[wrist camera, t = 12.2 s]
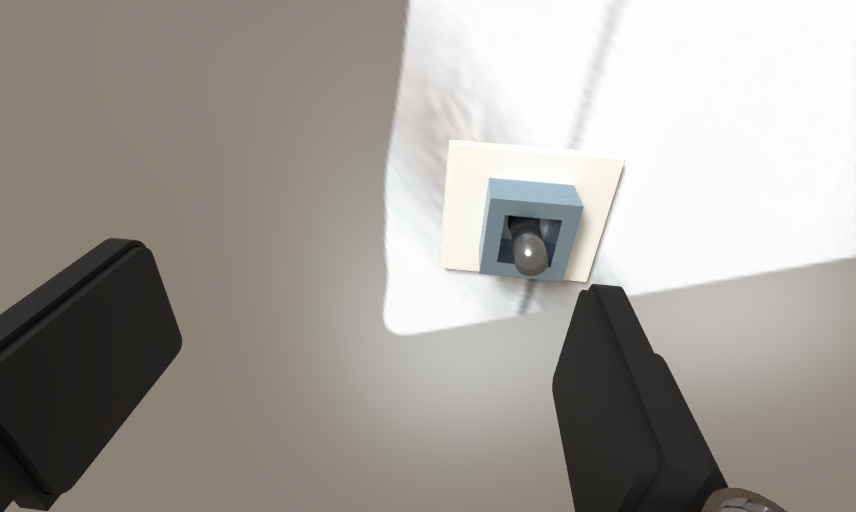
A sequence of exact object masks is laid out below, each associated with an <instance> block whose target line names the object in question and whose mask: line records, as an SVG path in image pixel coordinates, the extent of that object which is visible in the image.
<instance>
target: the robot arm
mask: <svg viewBox="0 0 856 512" xmlns="http://www.w3.org/2000/svg"><path fill="white" fill-rule="evenodd" d="M181 346H182V337H181V334H180V331H179V328H178V325H177V322H176V319H175V316H174V314H173V311H172V308H171V305H170V302H169V299H168V296H167V294H166V291H165V288H164V285H163V283H162V279H161V276H160V274H159V271H158V268H157V265H156V262H155V259H154V256H153V254H152V252H151V251H150V250H149V249H148V248H146V246H145V245H144V244H143V243H142V242H140V241H137V240H128V239H117V238H110V239H107V240H105V241H103V242H102V243H101V244H99V245H98V246H96V247H95V248H94V249H92V250H91V251H89V252H88V253H87V254H85V255H84V256H82V257H81V258H80V259H78V260H77V261H75V262H74V263H72V264H71V265H70V266H68V267H67V268H65V269H64V270H63V271H61V272H60V273H58V274H57V275H56V276H54V277H53V278H51V279H50V280H49V281H47V282H46V283H44V284H43V285H41V286H40V287H39V288H37V289H36V290H34V291H33V292H32V293H30V294H29V295H27V296H26V297H24V298H23V299H22V300H21V301H19V302H17V303H16V304H15V305H13V306H12V307H10V308H9V309H8V310H6V311H5V312H3V313H2V314H1V315H0V512H4V510H5V509H6V508H7V507H8V506H9V505H10V503H11V502H12V501H13V500H14V501H15V502H16V504H17V505H18V506H19V507H21V508H29V509H36V510H44V511H48V510H49V509H50V507H51V506H52V505H53V504H54V502H55V501H56V500H57V499H58V497H59V496H60V495H61V494H62V493H65V492H67V491H68V490H70V489H71V488H72V487H73V486H74V485H75V484H76V482H77V481H78V480H79V478H80V477H81V476H82V475H83V473H84V472H85V471H86V470H87V468H88V467H89V466H90V465H91V463H92V462H93V461H94V460H95V458H96V457H97V456H98V455H99V453H100V452H101V451H102V449H103V448H104V447H105V446H106V444H107V443H108V442H109V441H110V439H111V438H112V437H113V435H114V434H115V433H116V432H117V430H118V429H119V428H120V427H121V425H122V424H123V423H124V422H125V420H126V419H127V417H129V415H130V414H131V413H132V411H133V410H134V409H135V408H136V406H137V405H138V404H139V403H140V401H141V400H142V399H143V397H144V396H145V395H146V394H147V392H148V391H149V390H150V389H151V387H152V386H153V385H154V383H155V382H156V381H157V380H158V379H159V377H160V376H161V375H162V373H163V372H164V371H165V370H166V368H167V367H168V366H169V365H170V363H171V362H172V361H173V359H174V358H175V357H176V355H177V354H178V353H179V351H180V349H181ZM552 390H553V397H554V402H555V408H556V413H557V418H558V423H559V428H560V434H561V439H562V444H563V450H564V454H565V460H566V465H567V471H568V476H569V481H570V487H571V492H572V497H573V502H574V507H575V512H787V511H786V510H784V509H783V508H782V507H780V506H779V505H778V504H776V503H775V502H773V501H771V500H769V499H767V498H765V497H764V496H762V495H760V494H758V493H755V492H752V491H748V490H745V489H741V488H729V487H728V485H727V483H726V481H725V479H724V477H723V475H722V473H721V471H720V469H719V467H718V465H717V463H716V461H715V460H714V457H713V455H712V453H711V451H710V449H709V447H708V445H707V443H706V441H705V439H704V437H703V436H702V433H701V431H700V430H699V427H698V425H697V423H696V421H695V419H694V418H693V415H692V413H691V411H690V409H689V408H688V405H687V403H686V401H685V399H684V398H683V396H682V393H681V391H680V389H679V387H678V385H677V384H676V381H675V379H674V377H673V375H672V373H671V371H670V369H669V367H668V366H667V363H666V362H665V360H664V359H663V358H662V357H661V356H660V355H658V354H655V353H654V352H653V350H652V347H651V345H650V343H649V341H648V339H647V337H646V335H645V333H644V331H643V329H642V327H641V325H640V323H639V320H638V319H637V316H636V314H635V312H634V310H633V308H632V306H631V304H630V302H629V300H628V298H627V295H626V293H625V291H624V290H623V288H622V287H620V286H609V285H599V284H592V285H591V286H590V288H589V290H581V292H580V293H579V296H578V299H577V302H576V306H575V309H574V312H573V315H572V319H571V322H570V325H569V328H568V332H567V335H566V338H565V342H564V345H563V348H562V351H561V354H560V357H559V361H558V364H557V367H556V370H555V373H554V377H553V385H552Z"/></svg>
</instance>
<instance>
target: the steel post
mask: <svg viewBox="0 0 856 512" xmlns="http://www.w3.org/2000/svg"><path fill="white" fill-rule="evenodd" d="M539 225H540V219H539V218H532V217H522V216H511V215H509V216H508V227H509V230H510V231H511V237H512V244H513V251H514V258H515V265H516V269H517V270H518V272H520V273H521V274H523V275H525V276H537V275H540V274H541V273H543V272H544V271H545V270H546V269H547V267H548V263H549V261H548V257H547V253H546V249H545V245H544V241H543V237H542V234H541V230H540V226H539Z"/></svg>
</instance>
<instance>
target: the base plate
mask: <svg viewBox="0 0 856 512" xmlns="http://www.w3.org/2000/svg"><path fill="white" fill-rule="evenodd" d="M624 162H625V160H624V158H623V157H622V156H621V155H620V154H617V153H605V152H593V151H581V150H569V149H557V148H545V147H532V146H520V145H508V144H496V143H484V142H472V141H460V140H450V141H449V150H448V162H447V174H446V186H445V198H444V210H443V222H442V235H441V247H440V259H439V268H447V269H458V270H468V271H478V272H479V244H480V237H481V230H482V223H483V216H484V209H485V202H486V195H487V188H488V181H489V178H497V179H509V180H520V181H532V182H543V183H555V184H566V185H574V187H575V189H576V191H577V193H578V195H579V197H580V200H581V202H582V204H583V206H584V208H583V211H582V215H581V218H580V222H579V226H578V229H577V233H576V236H575V240H574V243H573V247H572V251H571V254H570V258H569V261H568V265H567V268H566V272H565V276H564V279H563V280H571V281H581V282H587V279H588V275H589V272H590V269H591V266H592V263H593V260H594V256H595V253H596V250H597V247H598V244H599V241H600V237H601V234H602V231H603V228H604V225H605V222H606V218H607V215H608V212H609V209H610V206H611V203H612V200H613V196H614V193H615V190H616V187H617V184H618V181H619V177H620V174H621V171H622V168H623V165H624ZM508 216H509V215H505V218H504V223H503V229H502V235H501V239H512V237H511V231H510V230H509V227H508ZM539 219H540V225H539V226H540V230H541V234H542V237H543V241H544V240H545V236H546V231H547V227H548V223H549V219H543V218H539Z"/></svg>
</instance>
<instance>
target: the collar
mask: <svg viewBox="0 0 856 512" xmlns="http://www.w3.org/2000/svg"><path fill="white" fill-rule="evenodd" d="M583 208H584V206H583V204H582V202H581V200H580V197H579V195H578V193H577V191H576V189H575V187H574V185H566V184H555V183H543V182H532V181H520V180H509V179H497V178H489V181H488V188H487V195H486V202H485V209H484V216H483V223H482V230H481V237H480V244H479V274H489V275H499V276H510V277H520V278H530V279H540V280H551V281H561V282H563V279H564V276H565V272H566V268H567V265H568V261H569V258H570V254H571V251H572V247H573V243H574V240H575V236H576V233H577V229H578V226H579V222H580V218H581V215H582V211H583ZM505 215H511V216H522V217H532V218H543V219H549V223H548V227H547V231H546V236H545V240H544V245H545V249H546V253H547V257H548V261H549V263H548V267H547V269H546V270H545V271H544V272H543V273H541V274H540V275H537V276H525V275H523V274H521V273H520V272H518V270H517V269H516V265H515V258H514V251H513V244H512V239H501V235H502V229H503V223H504V218H505Z"/></svg>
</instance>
